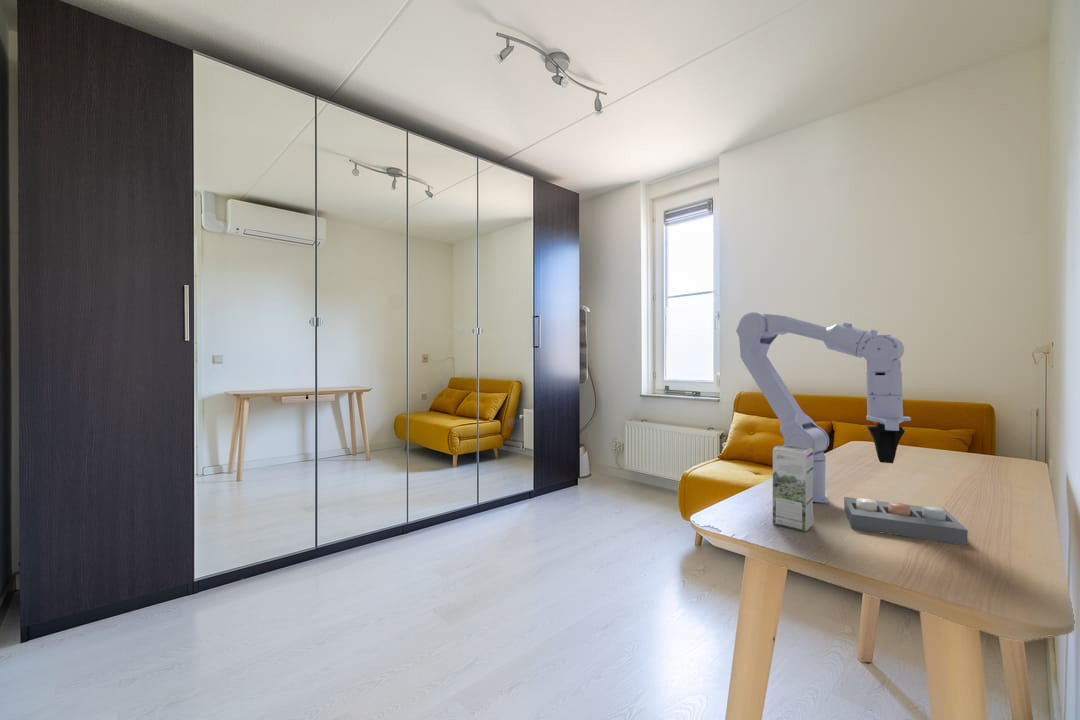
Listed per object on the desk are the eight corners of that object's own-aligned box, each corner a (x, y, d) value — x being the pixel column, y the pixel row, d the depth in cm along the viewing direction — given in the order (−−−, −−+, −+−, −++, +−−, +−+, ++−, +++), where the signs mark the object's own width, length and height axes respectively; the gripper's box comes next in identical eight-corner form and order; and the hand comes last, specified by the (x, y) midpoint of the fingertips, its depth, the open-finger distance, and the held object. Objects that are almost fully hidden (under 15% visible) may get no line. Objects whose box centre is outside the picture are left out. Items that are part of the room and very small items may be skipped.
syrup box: (813, 524, 85) (814, 447, 85) (805, 533, 81) (806, 451, 81) (780, 516, 89) (781, 443, 89) (771, 524, 85) (771, 447, 85)
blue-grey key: (924, 525, 82) (925, 510, 82) (920, 519, 84) (920, 505, 84) (948, 528, 80) (948, 513, 80) (942, 522, 83) (942, 508, 83)
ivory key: (857, 516, 86) (857, 501, 86) (855, 511, 89) (855, 497, 89) (878, 518, 85) (878, 504, 85) (875, 513, 88) (875, 499, 88)
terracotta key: (890, 520, 84) (890, 505, 84) (886, 515, 87) (886, 501, 87) (912, 523, 82) (912, 508, 82) (908, 518, 85) (908, 503, 85)
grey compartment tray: (851, 528, 83) (851, 514, 83) (844, 509, 94) (844, 496, 94) (967, 545, 76) (967, 530, 76) (945, 522, 86) (945, 509, 86)
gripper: (918, 397, 83) (921, 471, 83) (901, 392, 96) (903, 457, 95) (871, 396, 86) (873, 468, 86) (860, 392, 99) (862, 454, 99)
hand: (886, 462), depth 91 cm, fingers closed
